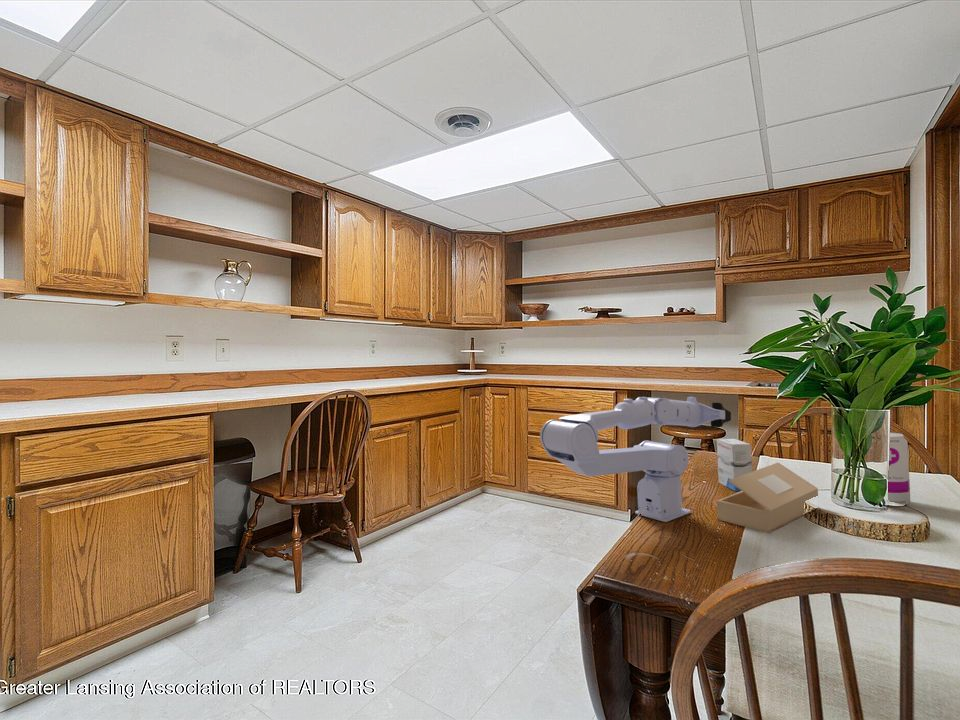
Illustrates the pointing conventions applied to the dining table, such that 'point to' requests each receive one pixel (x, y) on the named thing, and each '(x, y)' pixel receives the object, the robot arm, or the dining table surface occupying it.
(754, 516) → the carton
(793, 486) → the flap
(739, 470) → the ink box
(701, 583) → the dining table surface
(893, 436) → the white can
